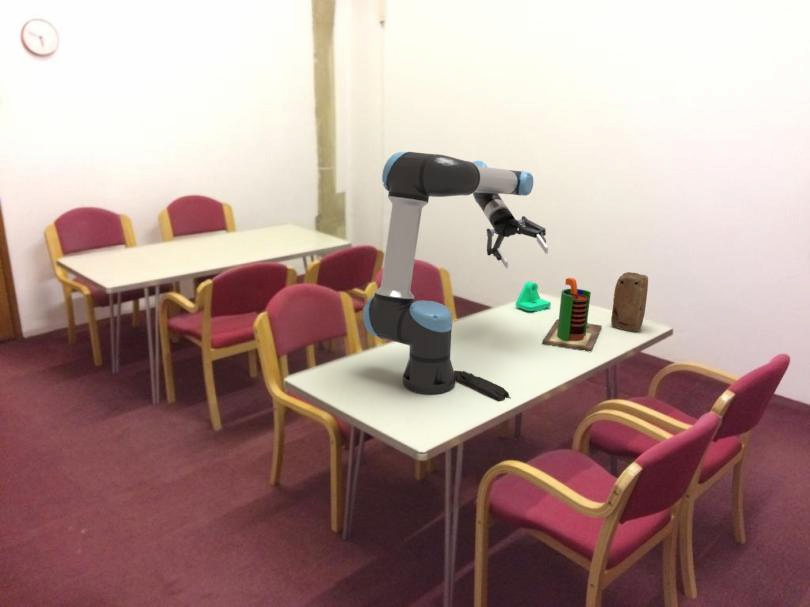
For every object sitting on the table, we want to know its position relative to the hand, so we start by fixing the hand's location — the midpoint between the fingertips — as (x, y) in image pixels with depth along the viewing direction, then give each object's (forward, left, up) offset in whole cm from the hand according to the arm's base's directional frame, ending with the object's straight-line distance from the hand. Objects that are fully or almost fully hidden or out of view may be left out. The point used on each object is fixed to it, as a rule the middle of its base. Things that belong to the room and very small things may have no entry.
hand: (526, 257), depth 211 cm
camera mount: (-6, +46, -31) cm, 56 cm away
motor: (+13, +16, -30) cm, 36 cm away
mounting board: (+13, +21, -31) cm, 40 cm away
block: (+29, +38, -31) cm, 57 cm away
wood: (-4, -32, -32) cm, 45 cm away
